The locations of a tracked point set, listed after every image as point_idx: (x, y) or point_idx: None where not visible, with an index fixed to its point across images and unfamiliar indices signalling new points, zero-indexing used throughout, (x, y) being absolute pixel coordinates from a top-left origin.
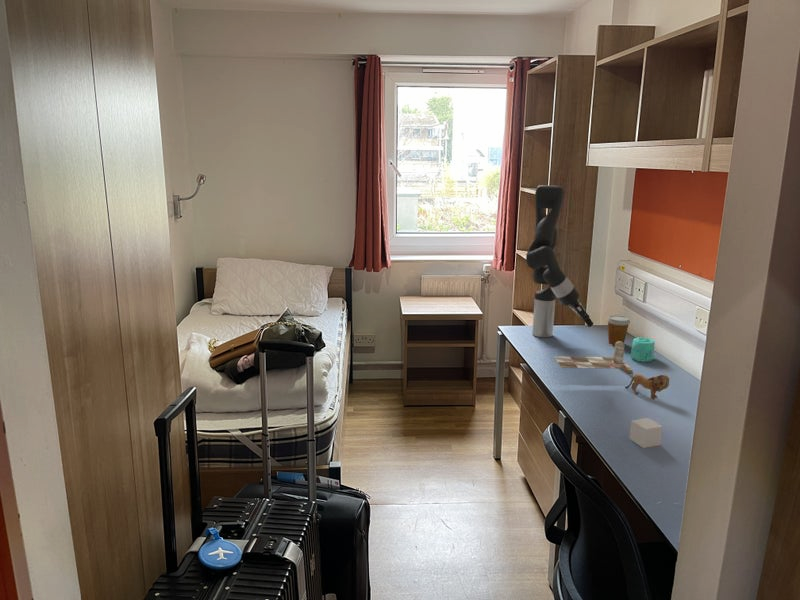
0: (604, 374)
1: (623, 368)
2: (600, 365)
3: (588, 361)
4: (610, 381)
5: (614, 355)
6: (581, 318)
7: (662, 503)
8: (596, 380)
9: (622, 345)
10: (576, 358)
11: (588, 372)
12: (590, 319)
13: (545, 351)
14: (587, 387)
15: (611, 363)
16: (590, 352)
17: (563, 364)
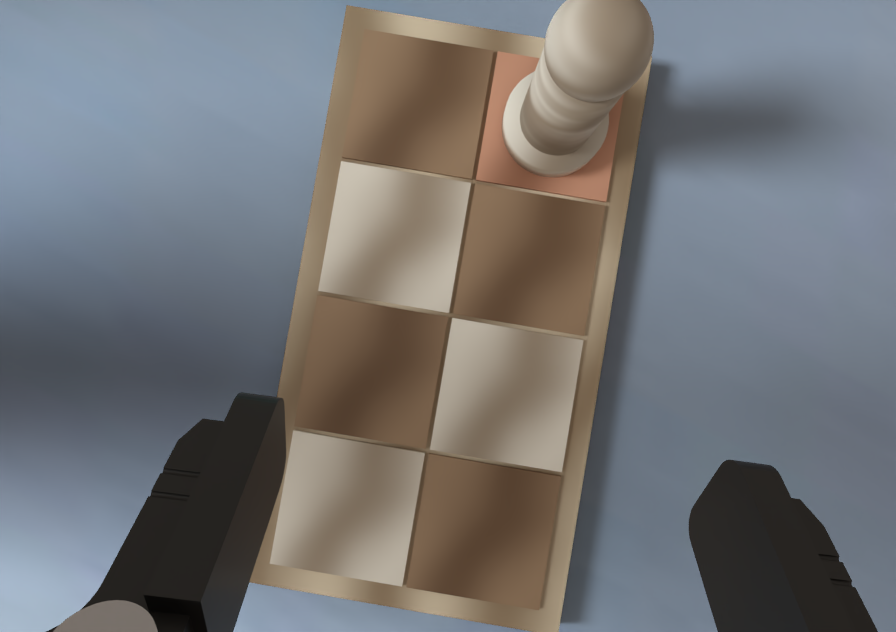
0: (643, 293)
1: (620, 114)
2: (531, 266)
3: (429, 321)
4: (782, 318)
5: (568, 133)
6: (275, 495)
7: None
8: (751, 414)
9: (652, 31)
10: (345, 389)
11: None
12: (831, 586)
13: (72, 536)
14: (872, 545)
15: (541, 171)
16: (153, 163)
17: (470, 565)
